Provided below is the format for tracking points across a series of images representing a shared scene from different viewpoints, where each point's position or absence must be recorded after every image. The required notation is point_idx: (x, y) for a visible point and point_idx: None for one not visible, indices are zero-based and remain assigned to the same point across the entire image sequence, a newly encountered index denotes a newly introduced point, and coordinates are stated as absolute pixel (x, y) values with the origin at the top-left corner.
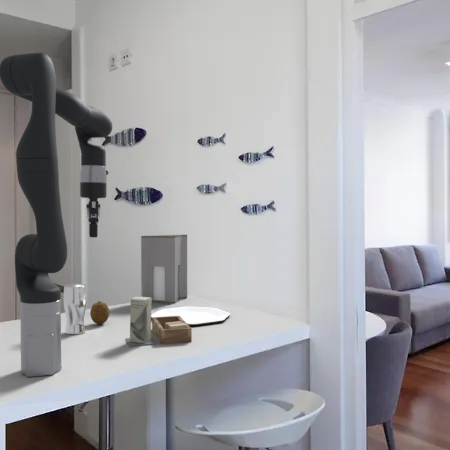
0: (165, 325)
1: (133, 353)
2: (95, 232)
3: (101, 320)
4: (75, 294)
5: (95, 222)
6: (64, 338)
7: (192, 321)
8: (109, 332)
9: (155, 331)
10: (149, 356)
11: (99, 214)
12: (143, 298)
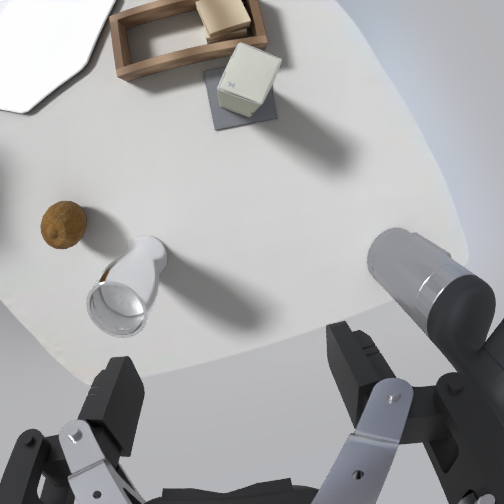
0: (214, 33)
1: (327, 107)
2: (374, 344)
3: (84, 213)
4: (150, 293)
5: (431, 390)
6: (195, 267)
7: (70, 10)
8: (146, 178)
9: (177, 65)
10: (349, 79)
11: (393, 455)
12: (259, 65)
